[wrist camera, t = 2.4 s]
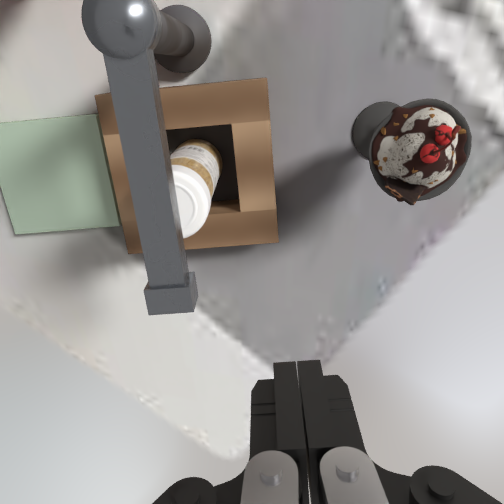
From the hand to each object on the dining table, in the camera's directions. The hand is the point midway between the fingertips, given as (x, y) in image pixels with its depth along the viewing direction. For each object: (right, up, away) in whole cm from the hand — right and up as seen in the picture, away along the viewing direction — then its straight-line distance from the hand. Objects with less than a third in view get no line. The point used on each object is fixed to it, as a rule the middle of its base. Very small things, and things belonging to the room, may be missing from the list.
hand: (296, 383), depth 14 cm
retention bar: (-7, +9, +10) cm, 15 cm away
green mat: (-19, +11, +26) cm, 34 cm away
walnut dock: (-7, +15, +24) cm, 29 cm away
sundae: (+10, +15, +24) cm, 30 cm away
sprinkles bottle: (-6, +12, +26) cm, 29 cm away
